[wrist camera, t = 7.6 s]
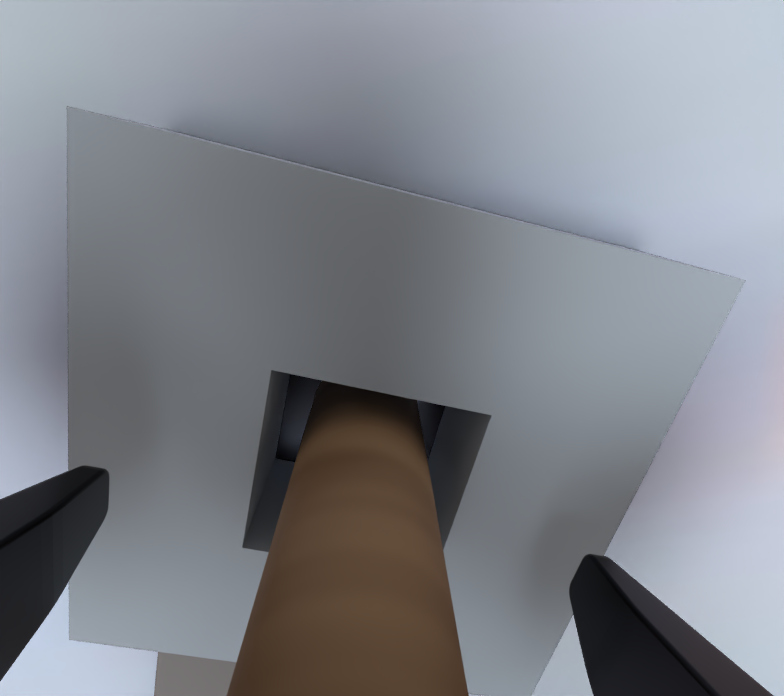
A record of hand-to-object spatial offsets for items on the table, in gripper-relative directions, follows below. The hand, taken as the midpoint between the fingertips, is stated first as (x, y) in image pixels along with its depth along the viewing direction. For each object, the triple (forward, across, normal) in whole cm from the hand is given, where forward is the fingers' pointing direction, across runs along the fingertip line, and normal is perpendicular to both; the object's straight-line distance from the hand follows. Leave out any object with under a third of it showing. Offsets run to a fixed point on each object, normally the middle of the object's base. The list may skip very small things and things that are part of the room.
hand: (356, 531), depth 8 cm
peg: (+5, 0, 0) cm, 5 cm away
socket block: (+5, 0, 0) cm, 5 cm away
